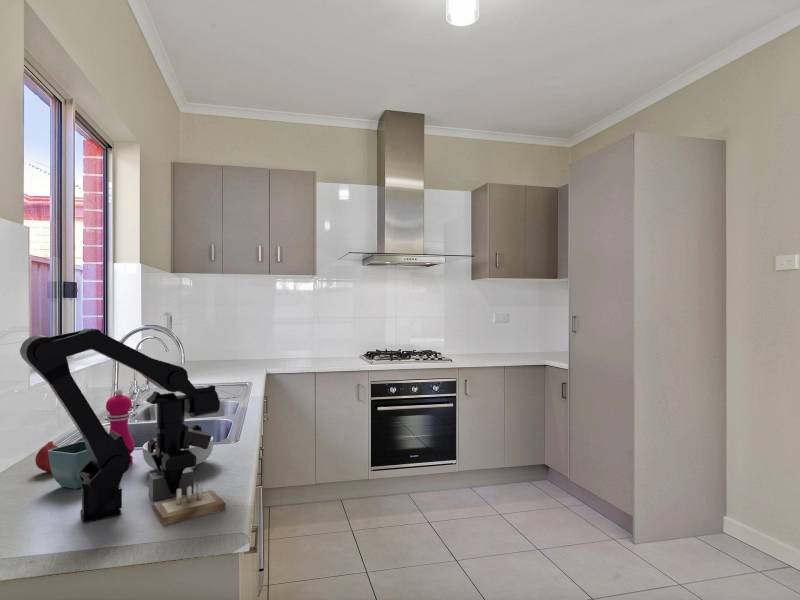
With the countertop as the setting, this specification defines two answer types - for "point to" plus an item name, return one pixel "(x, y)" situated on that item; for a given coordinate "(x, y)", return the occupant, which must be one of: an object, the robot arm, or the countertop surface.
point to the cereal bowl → (197, 451)
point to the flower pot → (68, 464)
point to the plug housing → (160, 487)
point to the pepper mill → (120, 417)
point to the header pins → (188, 494)
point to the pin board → (188, 507)
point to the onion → (44, 457)
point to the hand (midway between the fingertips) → (171, 490)
